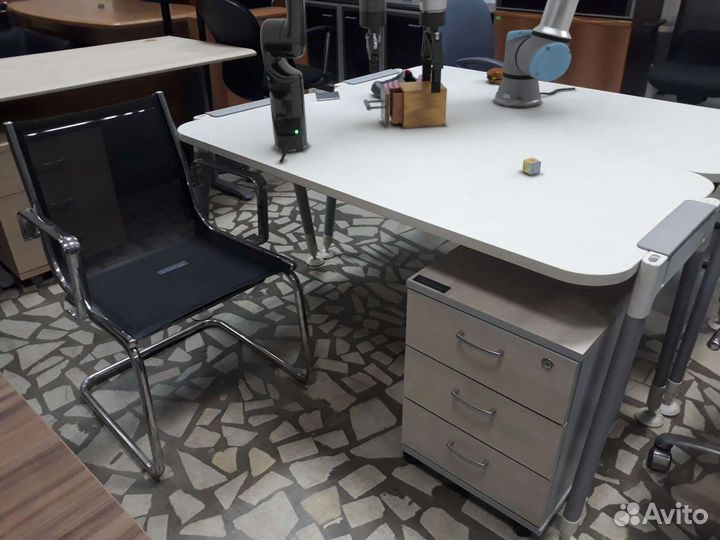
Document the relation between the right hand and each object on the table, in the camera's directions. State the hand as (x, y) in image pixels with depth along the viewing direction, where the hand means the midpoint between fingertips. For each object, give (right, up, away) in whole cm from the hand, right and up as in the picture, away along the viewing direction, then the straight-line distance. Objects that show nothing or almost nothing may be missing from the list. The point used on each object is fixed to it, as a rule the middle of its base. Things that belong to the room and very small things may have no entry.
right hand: (430, 87), depth 172 cm
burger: (+32, +17, +48) cm, 60 cm away
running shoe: (-7, +5, +28) cm, 30 cm away
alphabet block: (+20, -32, -33) cm, 50 cm away
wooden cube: (-2, -9, +5) cm, 11 cm away
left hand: (-18, +3, -4) cm, 18 cm away
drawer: (-11, -9, +4) cm, 15 cm away
